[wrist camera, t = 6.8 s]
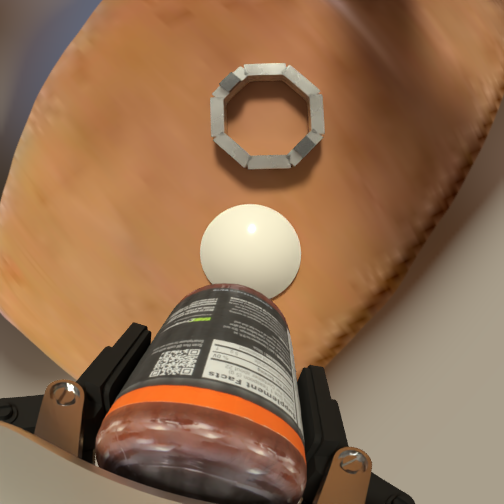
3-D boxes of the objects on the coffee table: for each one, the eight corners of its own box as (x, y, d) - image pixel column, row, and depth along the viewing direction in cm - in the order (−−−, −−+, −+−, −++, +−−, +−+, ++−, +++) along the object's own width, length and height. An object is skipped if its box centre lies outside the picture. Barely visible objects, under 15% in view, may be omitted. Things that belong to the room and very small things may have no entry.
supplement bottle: (229, 396, 15) (194, 585, 4) (149, 326, 14) (26, 506, 3) (315, 339, 14) (363, 568, 3) (231, 251, 13) (119, 502, 2)
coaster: (247, 182, 28) (247, 182, 28) (320, 252, 29) (321, 253, 29) (182, 255, 30) (180, 256, 30) (252, 317, 32) (252, 319, 31)
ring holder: (264, 52, 25) (263, 42, 22) (340, 118, 26) (347, 113, 23) (193, 122, 27) (186, 118, 24) (270, 190, 28) (270, 192, 26)
